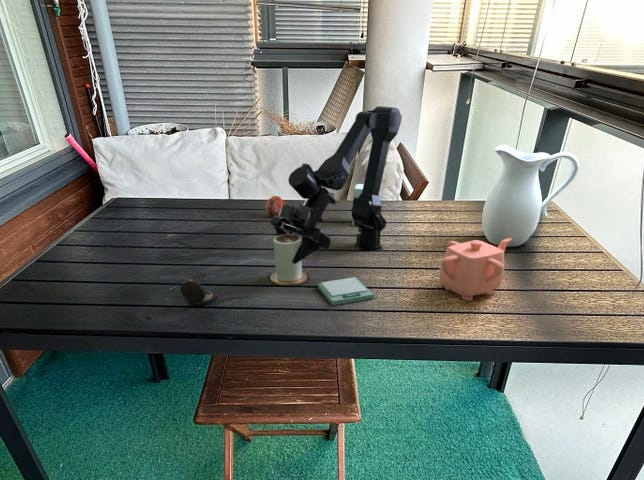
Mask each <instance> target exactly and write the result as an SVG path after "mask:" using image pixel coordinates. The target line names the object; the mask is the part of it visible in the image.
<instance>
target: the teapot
mask: <svg viewBox="0 0 644 480" xmlns="http://www.w3.org/2000/svg"><path fill="white" fill-rule="evenodd" d="M511 240H512V238H506V239H504V240H503V241H502V242H501V243H500V244H499V245H497V246H495V245H492V244H491V243H487V242H485V241H483V240H479V239H473V240H470V241H465V242H458V241H456V240H455V241H454V240H451V241H448V243H447V245H446V246H447V249H446V251H445V253H444V256H443V258H442V259H441V262H440V267H439V273H438V279H439V283H440V284H441V285H443V286H444V287H445V290H447V291H452V292H454V293H456V294H458V295H460V296H461V299H462V300H464V301H472V300H473V298H474V297H473V296H477V295H484V296H491V295H492V291H494V290H497V289H499V287H500V286H501V284H502V283H503V280H504V275H505V251H506V248H507V247H508V246H507V244H508V243H509V242H510V241H511Z"/></svg>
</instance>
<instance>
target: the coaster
mask: <svg viewBox="0 0 644 480" xmlns="http://www.w3.org/2000/svg"><path fill="white" fill-rule="evenodd" d="M307 280H308V275H307V273H306V272H304V271H302V277H301V278H300V279H298V280H295V281H281V280H278V279H277V278H276V271H274V272H272V274H271V275H270V281H271V283H273V284H275V285H278V286H284V287H285V286H286V287H291V286H297V285H300V284H304V282H306V281H307Z"/></svg>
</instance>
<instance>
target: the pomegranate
mask: <svg viewBox="0 0 644 480" xmlns="http://www.w3.org/2000/svg"><path fill="white" fill-rule="evenodd" d="M282 204H285V205H286V202H285V201H284V200H283V199H282V198H281V197H280V196H279V195H273V196H270V198H268V199H267V200H266V203H265V210H266V212H267V214H268V215H269V216H271V217H273V216H276V215H278V216H279V214H280V211H281V207H282Z"/></svg>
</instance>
